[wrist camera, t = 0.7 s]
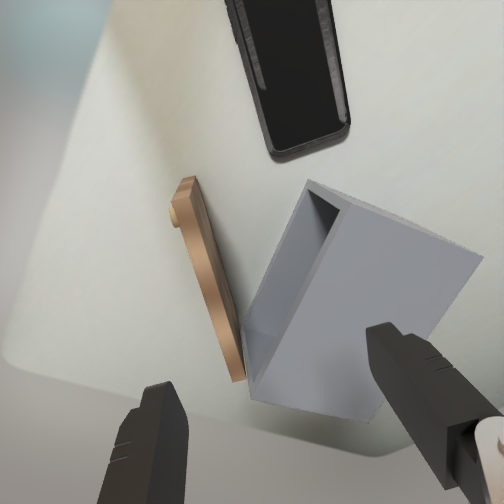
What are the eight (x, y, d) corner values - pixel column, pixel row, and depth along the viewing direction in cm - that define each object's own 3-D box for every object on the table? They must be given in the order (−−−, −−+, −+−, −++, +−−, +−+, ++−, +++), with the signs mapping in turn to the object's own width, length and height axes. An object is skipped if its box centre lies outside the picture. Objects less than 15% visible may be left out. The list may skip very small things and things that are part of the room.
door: (237, 317, 34) (246, 378, 26) (218, 323, 34) (221, 385, 26) (195, 175, 28) (189, 196, 20) (171, 181, 28) (155, 205, 20)
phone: (316, -83, 22) (353, 132, 28) (311, -74, 23) (348, 132, 29) (212, -47, 22) (270, 160, 28) (212, -39, 23) (268, 159, 29)
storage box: (407, 220, 33) (484, 257, 24) (330, 352, 38) (368, 423, 29) (308, 178, 30) (351, 202, 21) (240, 328, 35) (251, 399, 26)
